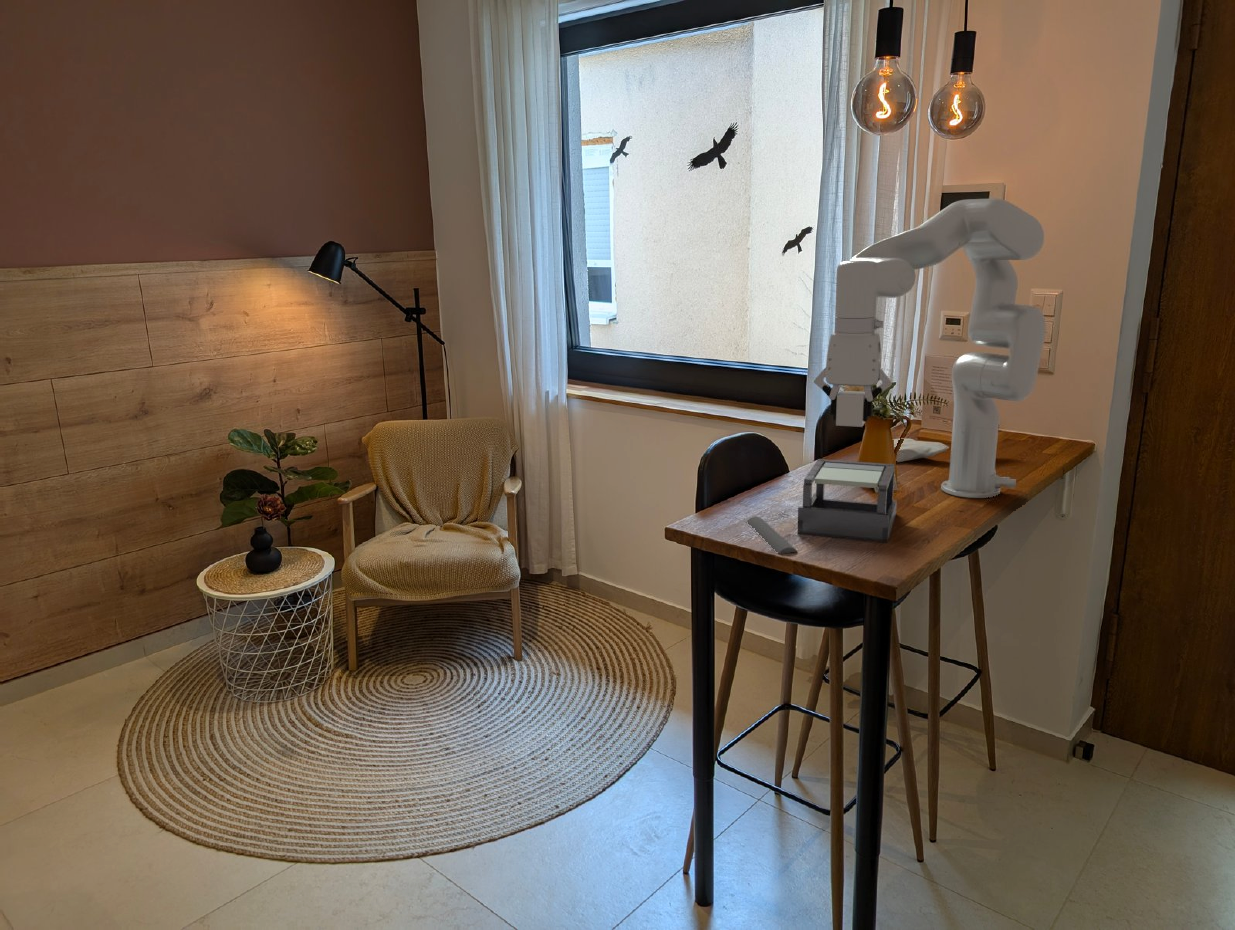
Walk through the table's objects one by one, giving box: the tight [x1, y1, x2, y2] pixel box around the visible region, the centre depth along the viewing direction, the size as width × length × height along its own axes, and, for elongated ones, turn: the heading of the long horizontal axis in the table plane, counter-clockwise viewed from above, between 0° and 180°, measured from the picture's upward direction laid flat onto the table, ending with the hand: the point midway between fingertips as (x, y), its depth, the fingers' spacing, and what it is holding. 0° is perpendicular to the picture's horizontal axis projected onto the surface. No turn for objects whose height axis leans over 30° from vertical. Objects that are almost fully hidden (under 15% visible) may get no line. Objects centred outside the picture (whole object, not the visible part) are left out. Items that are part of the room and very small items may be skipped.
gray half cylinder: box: [746, 516, 798, 555], centre depth 176 cm, size 4×20×2 cm, turn 10°
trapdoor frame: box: [797, 458, 898, 543], centre depth 182 cm, size 17×19×11 cm
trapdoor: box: [814, 462, 885, 489], centre depth 180 cm, size 12×13×2 cm
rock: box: [893, 437, 950, 463], centre depth 232 cm, size 21×5×15 cm
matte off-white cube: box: [835, 390, 866, 428], centre depth 174 cm, size 5×5×6 cm
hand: (850, 418), depth 174 cm, fingers closed on matte off-white cube, 5 cm apart
